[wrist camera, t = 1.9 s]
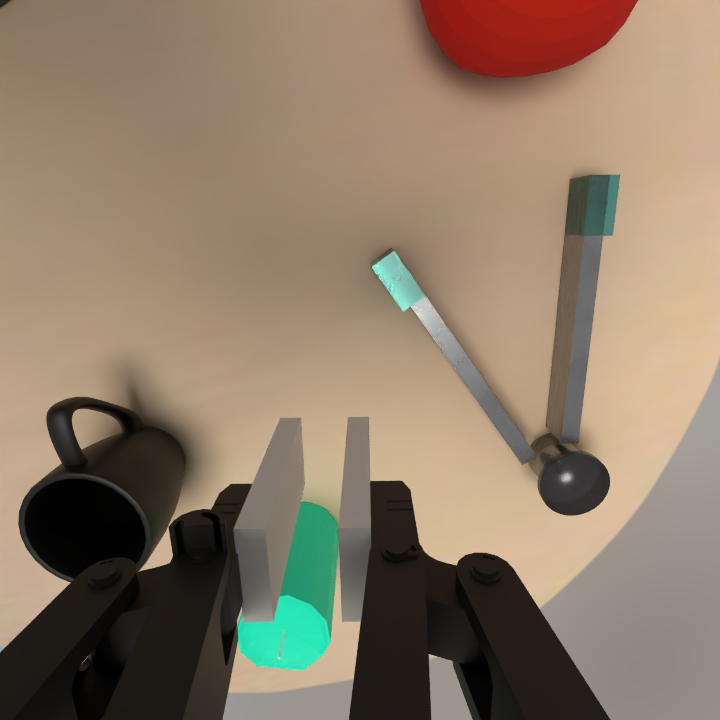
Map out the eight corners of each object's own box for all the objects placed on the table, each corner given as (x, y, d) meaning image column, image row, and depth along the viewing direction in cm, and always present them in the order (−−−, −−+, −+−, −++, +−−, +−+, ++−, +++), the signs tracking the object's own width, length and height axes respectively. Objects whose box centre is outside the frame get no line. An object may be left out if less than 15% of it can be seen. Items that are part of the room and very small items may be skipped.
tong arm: (523, 438, 38) (536, 456, 35) (503, 450, 38) (515, 469, 35) (391, 247, 34) (394, 250, 31) (371, 263, 34) (371, 267, 31)
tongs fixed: (578, 481, 39) (605, 515, 34) (518, 481, 39) (537, 515, 34) (615, 178, 32) (655, 171, 28) (543, 179, 32) (571, 173, 28)
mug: (182, 359, 36) (121, 407, 27) (210, 499, 40) (164, 583, 30) (76, 368, 36) (-21, 419, 27) (112, 506, 40) (37, 591, 31)
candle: (254, 538, 41) (210, 665, 29) (294, 488, 39) (265, 600, 28) (312, 574, 42) (292, 710, 30) (353, 526, 40) (348, 650, 29)
